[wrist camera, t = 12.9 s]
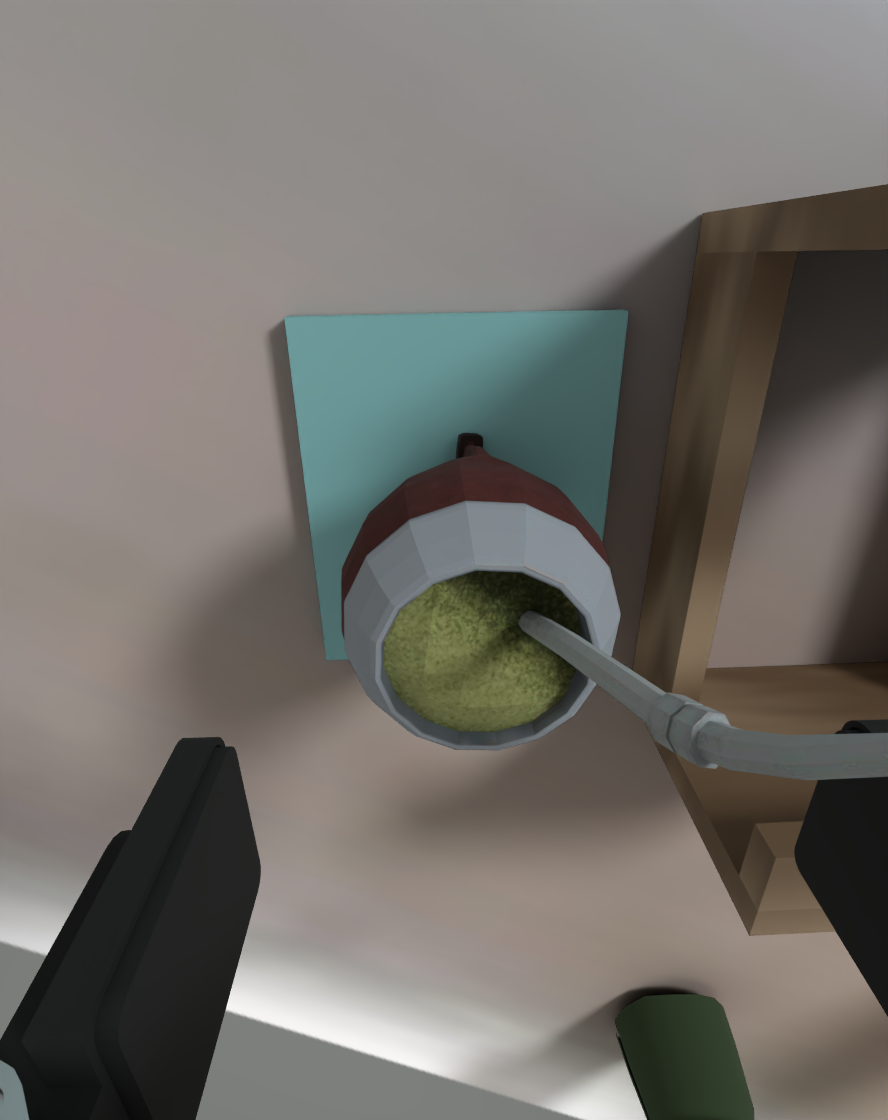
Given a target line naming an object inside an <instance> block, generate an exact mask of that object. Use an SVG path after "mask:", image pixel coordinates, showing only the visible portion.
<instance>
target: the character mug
mask: <svg viewBox="0 0 888 1120" xmlns="http://www.w3.org/2000/svg"><path fill="white" fill-rule="evenodd" d="M615 1024H616V1027H617V1030H618V1033H619V1036H620V1037H618V1036H617V1034H616V1036H617V1039H618V1042H619V1045H620V1048H621V1051H622V1054H623V1057H624V1060H625V1063H626V1066H627V1069H628V1072H629V1074H630V1077H631V1080H632V1082H633V1085H634V1087H635V1090H636V1092H637V1095H638V1098H639V1100H640V1103H641V1105H642V1108H643V1110H644V1113H645V1116H646V1118H647V1120H754V1108H753V1104H752V1101H751V1097H750V1094H749V1090H748V1087H747V1083H746V1080H745V1076H744V1073H743V1069H742V1065H741V1062H740V1058H739V1055H738V1051H737V1048H736V1045H735V1041H734V1038H733V1035H732V1032H731V1029H730V1026H729V1023H728V1020H727V1017H726V1014H725V1011H724V1008H723V1006H722V1005H721V1004H720V1003H719V1002H718V1001H717V1000H716V999H715V998H711V997H707V996H702V995H697V994H674V995H669V994H664V995H655V996H644V997H642V998H640V999H639V1000H637V1001H635V1002H633V1003H631V1004H629V1005H627V1006H626V1007H625V1008H624V1009H623V1010H622V1011H621V1013H620V1014H619V1015H618V1017H617V1018H616V1019H615Z"/></svg>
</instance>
